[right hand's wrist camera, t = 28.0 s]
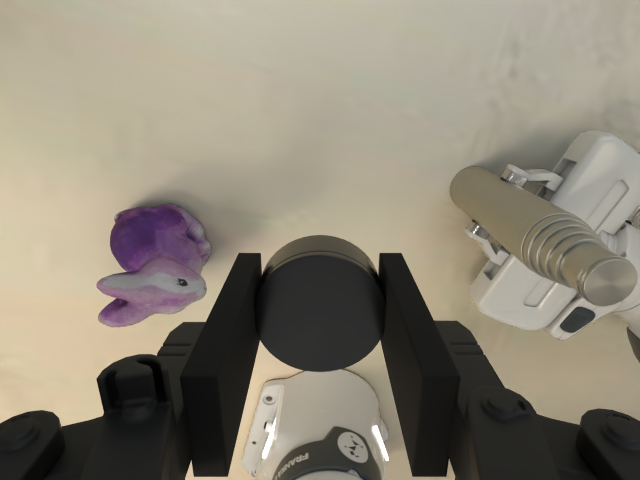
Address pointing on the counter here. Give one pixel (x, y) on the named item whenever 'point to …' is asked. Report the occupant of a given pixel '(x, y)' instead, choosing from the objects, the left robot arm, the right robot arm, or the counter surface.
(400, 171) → the counter surface
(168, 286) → the figurine
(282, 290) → the cap
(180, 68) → the counter surface
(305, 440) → the left robot arm
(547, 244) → the bottle
